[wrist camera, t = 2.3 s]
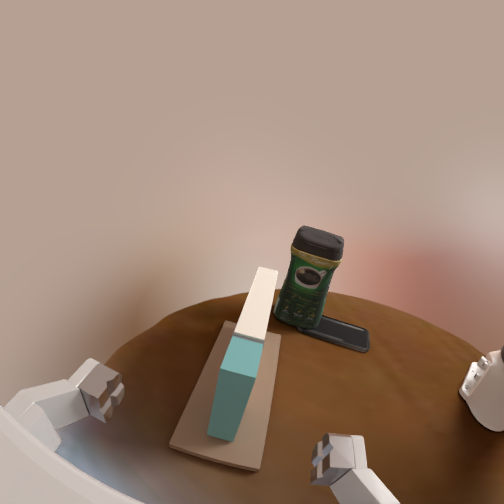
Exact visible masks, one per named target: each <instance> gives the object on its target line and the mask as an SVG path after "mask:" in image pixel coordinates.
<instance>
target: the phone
mask: <svg viewBox="0 0 504 504" xmlns="http://www.w3.org/2000/svg"><path fill="white" fill-rule="evenodd" d="M297 330H298V331H299V332H301V333H304V334H307V335H310V336H313V337H316V338H319V339H322V340H325V341H328V342H331V343H334V344H338V345H341V346H344V347H347V348H351V349H354V350H357V351H361V352H368V350H369V348H370V343H369V331H368V330H366V329H364V328H361V327H358V326H355V325H352V324H349V323H345V322H342V321H339V320H336V319H333V318H330V317H327V316H324V315H322V316H321V319H320V322H319V324H318V326H317V327H316V328H314V329H304V328H301V327H297Z"/></svg>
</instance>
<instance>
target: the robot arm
mask: <svg viewBox="0 0 504 504" xmlns="http://www.w3.org/2000/svg"><path fill="white" fill-rule="evenodd" d="M122 380H123V377H122V374H120V373H118V372H116V371H114V370H112V369H110V368H109V367H107V366H105V365H103V364H101V363H99V362H97V361H95V360H94V359H92V358H90V359H88V360H86V361H85V362H84V363H83V364H82V365H81V366H80V368H79V369H78V370H77V371H76V372H75V373H74V374H73V375H72V376H71V377H70V378H69V379H68V380H65V379H63V380H60V381H56V382H52V383H48V384H44V385H40V386H36V387H32V388H27V389H23V390H20V391H19V392H18V393H17V395H15V396H14V397H13V398H12V399H11V400H10V401H9V403H8V404H7V405H6V406H5V407H4V408H3V407H2V406H1V405H0V504H145V503H143V502H140V501H138V500H136V499H134V498H131V497H129V496H127V495H125V494H123V493H121V492H119V491H117V490H115V489H113V488H111V487H109V486H107V485H106V484H104V483H102V482H100V481H98V480H97V479H95V478H93V477H91V476H90V475H88V474H86V473H85V472H83V471H82V470H80V469H78V468H77V467H75V466H74V465H72V464H71V463H69V462H68V461H66V460H65V459H63V458H62V457H61V456H59V455H58V454H56V453H55V450H56V449H57V447H58V446H59V444H60V443H61V438H60V437H59V435H58V434H57V432H56V430H57V429H59V428H61V427H64V426H66V425H69V424H71V423H73V422H76V421H78V420H80V419H83V418H85V417H87V416H89V415H91V416H93V417H95V418H97V419H99V420H100V421H102V422H104V423H107V422H108V420H109V419H110V417H111V416H112V414H113V413H114V412H113V407H116V406H119V404H120V403H121V401H122V399H123V396H124V391H125V390H124V386H123V384H122V383H121V381H122ZM459 393H460V395H461V396H462V397H463V398H464V400H465V401H466V402H467V404H468V406H469V408H470V410H471V412H472V414H473V415H474V416H475V418H476V419H477V420H478V421H479V422H480V423H481V424H482V425H483V426H485V427H486V428H488V429H490V430H493V431H503V430H504V346H503V347H502V348H501V350H498V351H494V352H490V353H488V354H487V356H486V357H485V358H484V357H483V356H482V357H481V358H480V359H479V361H478V363H477V362H473V363H472V364H471V365H470V367H469V370H468V372H467V374H466V377H465V379H464V381H463V383H462V386H461V388H460V390H459ZM311 462H312V463H313V465H314V466H315V467H314V468H313V469H312V470H311V482H310V484H315V485H327V486H330V488H331V490H332V492H333V493H334V495H335V497H336V498H337V500H338V502H339V503H340V504H400V502H399V501H398V500H397V499H396V498H395V497H394V496H393V494H392V493H391V492H390V491H389V490H388V489H387V488H386V486H385V485H384V484H383V483H382V482H381V481H380V479H379V478H378V477H377V476H376V475H375V473H374V472H373V471H372V470H371V469H367V461H366V452H365V444H364V438H363V437H362V436H358V435H346V434H333V433H326V434H325V435H324V436H323V437H322V441H321V442H318V443H317V444H316V446H315V447H314V450H313V453H312V461H311Z"/></svg>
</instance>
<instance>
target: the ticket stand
mask: <svg viewBox="0 0 504 504" xmlns="http://www.w3.org/2000/svg"><path fill="white" fill-rule="evenodd" d="M277 275H278V271H275V270H271V269H268V268H264V267H259V268H258V270H257V273H256V276H255V278H254V281H253V284H252V286H251V289H250V291H249V294H248V297H247V299H246V302H245V305H244V307H243V310H242V313H241V315H240V318H239V320H238V323H233V322H230V321H226V320H225V323H224V325H223V327H222V329H221V331H220V333H219V336H218V338H217V340H216V342H215V344H214V347H213V349H212V351H211V353H210V355H209V357H208V360H207V362H206V364H205V366H204V368H203V370H202V373H201V375H200V377H199V379H198V381H197V383H196V386H195V388H194V390H193V392H192V394H191V396H190V399H189V401H188V403H187V405H186V407H185V409H184V412H183V414H182V416H181V418H180V420H179V422H178V424H177V427H176V429H175V431H174V433H173V435H172V437H171V439H170V442H169V447H170V448H173V449H176V450H178V451H181V452H184V453H187V454H190V455H193V456H196V457H199V458H203V459H206V460H209V461H213V462H216V463H220V464H224V465H228V466H232V467H236V468H241V469H245V470H250V471H255V472H258V471H259V469H260V465H261V460H262V454H263V449H264V443H265V438H266V432H267V426H268V420H269V414H270V408H271V402H272V395H273V389H274V382H275V375H276V368H277V361H278V354H279V347H280V339H281V335H279V334H275V333H271V332H267V331H266V330H267V325H268V321H269V316H270V311H271V306H272V301H273V296H274V291H275V286H276V280H277ZM233 334H237V335H241V336H244V337H248V338H252V339H255V340H259V341H263V342H264V346H263V349H262V354H261V358H260V363H259V367H258V372H257V376H256V380H255V383H254V386H253V388H252V391H251V394H250V397H249V400H248V403H247V406H246V408H245V411H244V414H243V417H242V419H241V422H240V425H239V428H238V430H237V433H236V436H235V438H234V441H233V442H231V441H227V440H223V439H220V438H216V437H213V436H209V435H207V431H208V426H209V421H210V416H211V411H212V406H213V401H214V396H215V391H216V386H217V381H218V376H219V371H220V367H221V364H222V362H223V359H224V357H225V354H226V352H227V349H228V346H229V344H230V341H231V338H232V335H233Z"/></svg>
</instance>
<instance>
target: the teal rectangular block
mask: <svg viewBox="0 0 504 504" xmlns="http://www.w3.org/2000/svg"><path fill="white" fill-rule="evenodd" d="M263 346H264V342H263V341H259V340H255V339H252V338H248V337H244V336H241V335H237V334H233V335H232V338H231V341H230V344H229V346H228V349H227V352H226V354H225V357H224V359H223V362H222V364H221V367H220V371H219V376H218V381H217V386H216V391H215V396H214V401H213V406H212V411H211V416H210V421H209V426H208V431H207V435H209V436H213V437H216V438H220V439H223V440H227V441H231V442H233V441H234V438H235V436H236V433H237V430H238V428H239V425H240V422H241V419H242V417H243V414H244V411H245V408H246V406H247V403H248V400H249V397H250V394H251V391H252V388H253V386H254V383H255V380H256V376H257V372H258V367H259V363H260V358H261V354H262V349H263Z"/></svg>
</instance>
